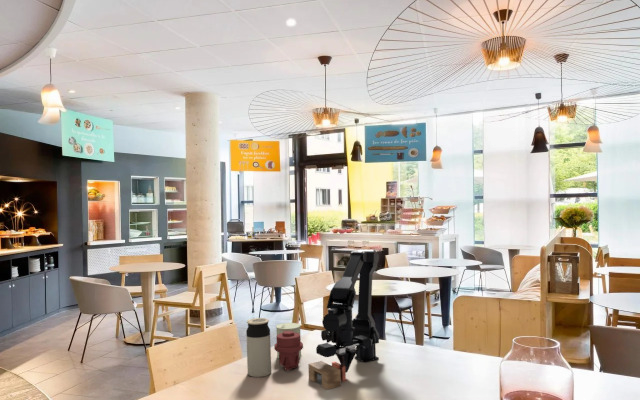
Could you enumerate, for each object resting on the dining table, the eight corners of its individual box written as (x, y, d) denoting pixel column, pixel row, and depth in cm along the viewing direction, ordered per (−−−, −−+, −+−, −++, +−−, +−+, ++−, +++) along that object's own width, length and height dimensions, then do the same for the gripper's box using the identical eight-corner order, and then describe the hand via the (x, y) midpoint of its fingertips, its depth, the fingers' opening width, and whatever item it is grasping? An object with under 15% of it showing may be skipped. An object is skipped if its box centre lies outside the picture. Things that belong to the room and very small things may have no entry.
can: (271, 357, 185) (270, 325, 185) (289, 351, 192) (288, 320, 192) (289, 362, 179) (288, 328, 179) (306, 355, 186) (305, 323, 186)
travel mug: (275, 371, 170) (274, 318, 170) (263, 378, 163) (261, 324, 163) (255, 368, 173) (254, 316, 173) (243, 375, 166) (241, 322, 166)
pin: (335, 375, 164) (334, 361, 164) (345, 380, 159) (345, 366, 159) (314, 380, 159) (313, 366, 159) (324, 386, 154) (323, 371, 154)
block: (321, 375, 164) (321, 360, 164) (340, 385, 154) (340, 369, 154) (308, 379, 161) (308, 363, 161) (327, 389, 152) (326, 373, 152)
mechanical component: (306, 363, 177) (299, 373, 167) (279, 362, 179) (271, 371, 169) (305, 328, 177) (298, 336, 167) (278, 328, 179) (270, 335, 169)
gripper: (352, 315, 174) (353, 360, 174) (306, 324, 164) (308, 371, 164) (372, 321, 164) (373, 368, 164) (325, 331, 154) (326, 381, 154)
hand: (345, 372), depth 162 cm, fingers closed
